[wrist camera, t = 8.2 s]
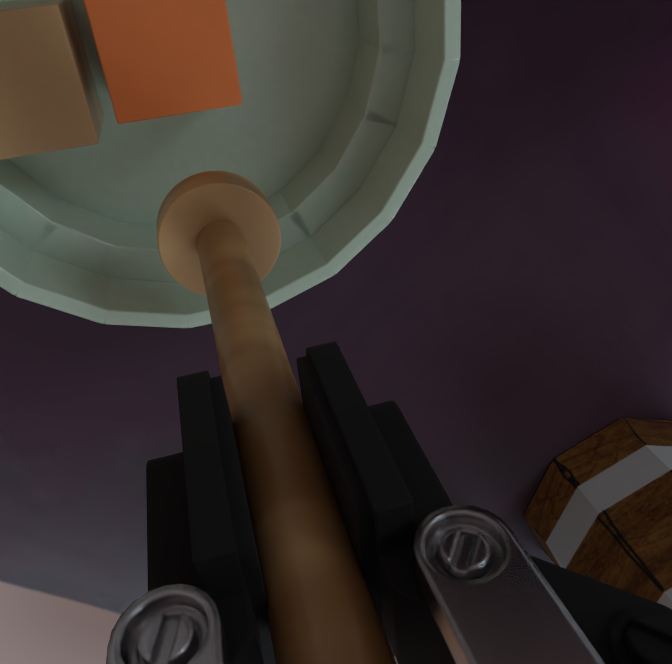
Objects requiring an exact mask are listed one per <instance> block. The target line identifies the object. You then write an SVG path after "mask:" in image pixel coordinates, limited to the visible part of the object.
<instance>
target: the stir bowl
mask: <svg viewBox="0 0 672 664" xmlns="http://www.w3.org/2000/svg"><path fill="white" fill-rule="evenodd" d="M11 1H19V0H0V3H3V2H11ZM225 1H226V7H227V13H228V19H229V25H230V31H231V37H232V42H233V48H234V54H235V60H236V66H237V72H238V78H239V84H240V90H241V96H242V102H243V103H242V104H241V105H236V106H230V107H223V108H217V109H211V110H205V111H198V112H192V113H186V114H179V115H173V116H167V117H161V118H154V119H148V120H142V121H135V122H129V123H123V124H118V123H117V120H116V116H115V113H114V109H113V105H112V102H111V98H110V94H109V91H108V87H107V84H106V80H105V76H104V73H103V69H102V66H101V62H100V58H99V55H98V51H97V48H96V44H95V40H94V37H93V33H92V30H91V26H90V22H89V19H88V15H87V12H86V8H85V4H84V1H83V0H71V2H72V5H73V9H74V12H75V16H76V19H77V23H78V26H79V30H80V33H81V37H82V40H83V44H84V47H85V51H86V54H87V58H88V61H89V65H90V68H91V72H92V75H93V79H94V82H95V86H96V89H97V93H98V96H99V100H100V103H101V107H102V110H103V114H104V117H103V123H102V128H101V134H100V139H99V143H98V144H95V145H89V146H83V147H77V148H71V149H64V150H58V151H52V152H46V153H40V154H34V155H28V156H22V157H16V158H10V159H3V160H0V287H1V288H3V289H5V290H6V291H8V292H9V293H11V294H13V295H15V296H16V297H19V298H22V299H26V300H29V301H32V302H35V303H38V304H41V305H44V306H48V307H51V308H54V309H57V310H60V311H63V312H66V313H70V314H73V315H76V316H79V317H82V318H85V319H88V320H92V321H95V322H98V323H101V324H103V323H104V324H111V325H131V326H151V327H171V328H187V327H188V328H193V327H197V326H202V325H206V324H211V323H212V322H211V317H210V312H209V307H208V301H207V296H206V295H202V294H199V293H196V292H193V291H191V290H189V289H187V288H185V287H184V286H182V285H181V284H179V283H178V282H177V281H176V280H175V279H174V278H173V277H172V276H171V275H170V274H169V273H168V271H167V270H166V268H165V267H164V265H163V263H162V261H161V258H160V255H159V250H158V242H157V216H158V212H159V209H160V207H161V204H162V202H163V200H164V199H165V197H166V196H167V194H168V193H169V192H170V190H171V189H172V188H174V187H175V186H176V185H177V184H178V183H180V182H181V181H182V180H184V179H186V178H188V177H189V176H192V175H195V174H197V173H201V172H206V171H226V172H231V173H235V174H238V175H240V176H242V177H245V178H246V179H248V180H250V181H251V182H253V183H254V184H255V185H256V186H257V187H258V188H259V189H260V190H261V191H262V192H263V193H264V194H265V196H266V197H267V199H268V201H269V203H270V205H271V207H272V209H273V211H274V213H275V215H276V217H277V219H278V222H279V225H280V230H281V247H280V252H279V255H278V258H277V260H276V262H275V264H274V266H273V268H272V269H271V271H270V272H269V273H268V274H267V276H266V277H265V278H264V279H263V280H262V281H260V282H261V285H262V288H263V291H264V293H265V296H266V299H267V302H268V305H269V307H270V309H271V308H273V307H275V306H277V305H279V304H281V303H283V302H285V301H286V300H288V299H290V298H292V297H294V296H296V295H298V294H300V293H302V292H303V291H305V290H307V289H309V288H311V287H313V286H315V285H317V284H319V283H320V282H322V281H324V280H326V279H328V278H330V277H332V276H333V275H334V274H336V273H338V272H339V271H340V270H341V269H342V268H343V267H344V266H345V265H346V264H347V263H348V262H349V261H350V260H351V259H352V258H353V257H354V256H355V255H356V254H358V253H359V252H360V251H361V250H362V249H363V248H364V247H365V246H366V245H367V244H368V243H369V242H370V241H371V240H372V239H373V238H374V237H375V236H376V235H378V234H379V233H380V232H381V231H382V230H383V229H384V228H385V227H386V226H387V225H388V224H389V223H390V222H391V221H392V220H391V219H393V218H394V217H395V215H396V213H397V212H398V210H399V208H400V207H401V205H402V203H403V202H404V200H405V198H406V197H407V195H408V193H409V192H410V190H411V188H412V187H413V185H414V183H415V182H416V180H417V178H418V177H419V175H420V173H421V172H422V170H423V168H424V167H425V165H426V163H427V162H428V160H429V158H430V157H431V155H432V153H433V152H434V148H435V147H436V144H437V141H438V137H439V134H440V130H441V127H442V123H443V119H444V116H445V112H446V109H447V105H448V102H449V98H450V95H451V91H452V87H453V84H454V80H455V77H456V73H457V70H458V66H459V63H460V61H459V59H460V37H461V0H225Z"/></svg>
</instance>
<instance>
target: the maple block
mask: <svg viewBox="0 0 672 664" xmlns="http://www.w3.org/2000/svg"><path fill="white" fill-rule="evenodd" d="M103 117H104V114H103V110H102V107H101V103H100V100H99V96H98V93H97V89H96V86H95V82H94V79H93V75H92V72H91V68H90V65H89V61H88V58H87V54H86V51H85V47H84V44H83V40H82V37H81V33H80V30H79V26H78V23H77V19H76V16H75V12H74V9H73V5H72V2H71V0H19V1H11V2H3V3H0V160H3V159H10V158H16V157H22V156H28V155H34V154H40V153H46V152H52V151H58V150H64V149H71V148H77V147H83V146H89V145H95V144H98V143H99V139H100V134H101V128H102V123H103Z"/></svg>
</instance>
